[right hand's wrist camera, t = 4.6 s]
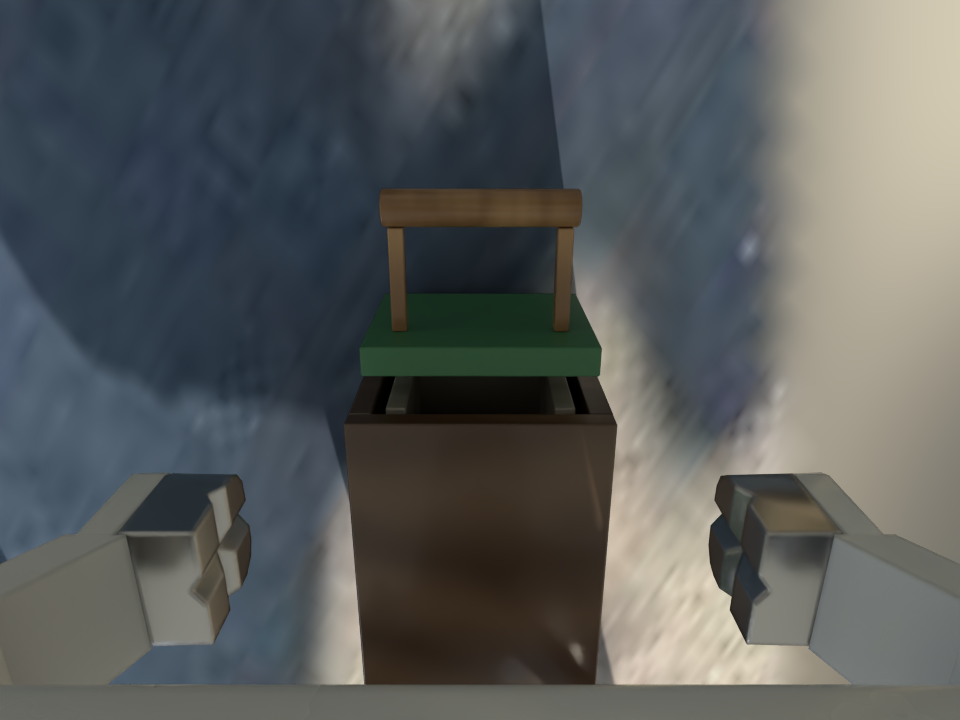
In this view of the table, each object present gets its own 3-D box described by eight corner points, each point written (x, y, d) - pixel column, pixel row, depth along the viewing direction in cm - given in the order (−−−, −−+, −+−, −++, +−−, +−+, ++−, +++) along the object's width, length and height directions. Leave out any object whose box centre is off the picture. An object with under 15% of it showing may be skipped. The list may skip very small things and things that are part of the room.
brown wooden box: (378, 340, 34) (343, 424, 25) (582, 340, 34) (617, 424, 25) (397, 673, 42) (375, 824, 33) (562, 673, 42) (584, 824, 33)
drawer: (378, 173, 30) (348, 196, 23) (582, 173, 30) (612, 196, 23) (402, 634, 40) (385, 748, 33) (557, 634, 40) (573, 749, 33)
